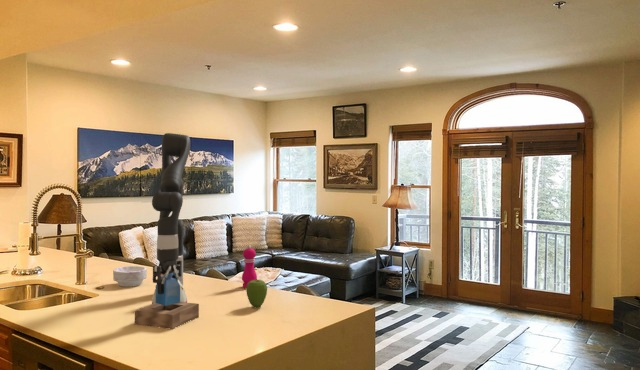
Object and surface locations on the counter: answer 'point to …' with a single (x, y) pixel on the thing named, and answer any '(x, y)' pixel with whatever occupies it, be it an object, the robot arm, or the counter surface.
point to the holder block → (166, 314)
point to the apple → (256, 292)
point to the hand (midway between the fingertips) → (167, 291)
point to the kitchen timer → (182, 294)
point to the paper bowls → (129, 275)
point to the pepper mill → (249, 266)
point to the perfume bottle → (169, 291)
